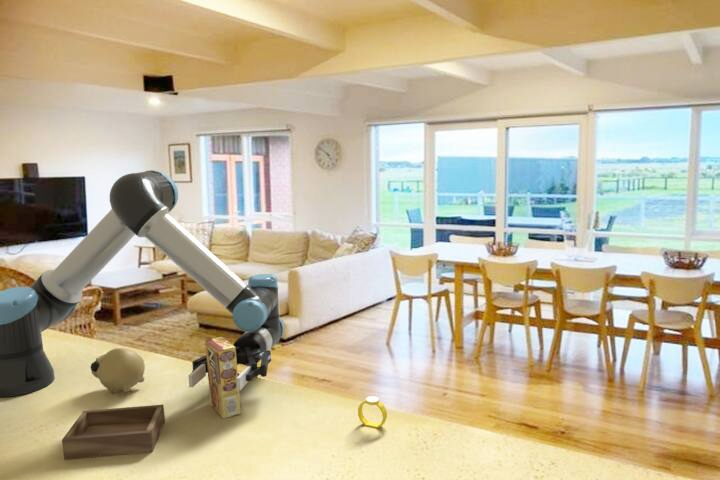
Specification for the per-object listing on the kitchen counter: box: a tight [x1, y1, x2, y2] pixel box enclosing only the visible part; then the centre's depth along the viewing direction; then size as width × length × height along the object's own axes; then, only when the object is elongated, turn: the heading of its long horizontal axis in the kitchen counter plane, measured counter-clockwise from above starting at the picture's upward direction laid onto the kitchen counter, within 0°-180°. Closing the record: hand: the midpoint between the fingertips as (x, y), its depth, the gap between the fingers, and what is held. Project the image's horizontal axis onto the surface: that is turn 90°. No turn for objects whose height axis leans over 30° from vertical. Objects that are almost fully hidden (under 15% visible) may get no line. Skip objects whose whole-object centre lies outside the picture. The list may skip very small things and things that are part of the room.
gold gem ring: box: [357, 395, 388, 429], centre depth 119 cm, size 6×3×6 cm, turn 64°
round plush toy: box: [90, 347, 146, 395], centre depth 139 cm, size 10×12×11 cm
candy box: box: [204, 336, 241, 419], centre depth 127 cm, size 9×4×15 cm, turn 33°
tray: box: [61, 404, 166, 461], centre depth 116 cm, size 12×16×4 cm
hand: (214, 382), depth 123 cm, fingers open, 10 cm apart
